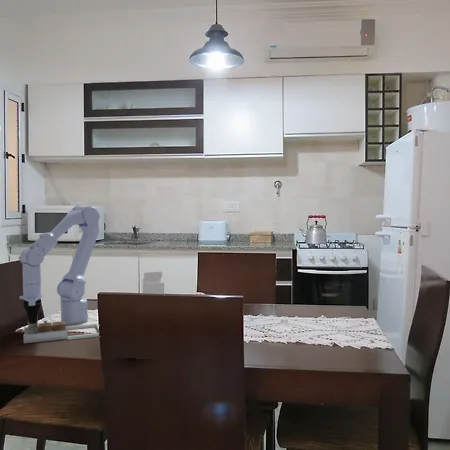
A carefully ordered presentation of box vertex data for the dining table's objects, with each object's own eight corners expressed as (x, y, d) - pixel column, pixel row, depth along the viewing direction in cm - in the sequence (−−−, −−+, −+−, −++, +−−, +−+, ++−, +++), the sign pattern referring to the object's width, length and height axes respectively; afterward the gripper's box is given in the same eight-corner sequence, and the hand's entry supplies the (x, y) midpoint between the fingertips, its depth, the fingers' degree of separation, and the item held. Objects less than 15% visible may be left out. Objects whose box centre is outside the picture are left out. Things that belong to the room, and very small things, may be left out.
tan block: (46, 328, 162) (46, 303, 162) (46, 332, 157) (46, 306, 157) (28, 330, 160) (28, 304, 160) (28, 334, 155) (27, 308, 155)
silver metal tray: (65, 332, 157) (65, 323, 157) (67, 340, 148) (67, 330, 148) (24, 336, 152) (24, 327, 152) (23, 345, 143) (23, 335, 143)
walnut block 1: (51, 334, 152) (51, 322, 152) (51, 337, 149) (51, 325, 149) (38, 335, 151) (38, 323, 151) (38, 338, 147) (38, 326, 147)
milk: (143, 337, 152) (142, 271, 151) (161, 335, 154) (160, 270, 153) (146, 342, 146) (145, 273, 145) (165, 340, 148) (164, 272, 147)
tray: (98, 328, 163) (98, 323, 162) (103, 338, 150) (102, 333, 150) (65, 331, 158) (65, 326, 158) (67, 342, 146) (67, 337, 146)
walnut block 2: (65, 332, 154) (65, 321, 154) (66, 336, 150) (65, 324, 150) (52, 334, 153) (52, 322, 152) (53, 337, 149) (52, 325, 149)
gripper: (20, 280, 163) (21, 318, 163) (18, 287, 149) (19, 328, 150) (41, 279, 165) (42, 316, 166) (41, 286, 152) (42, 326, 152)
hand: (32, 322), depth 158 cm, fingers closed on tan block, 3 cm apart
